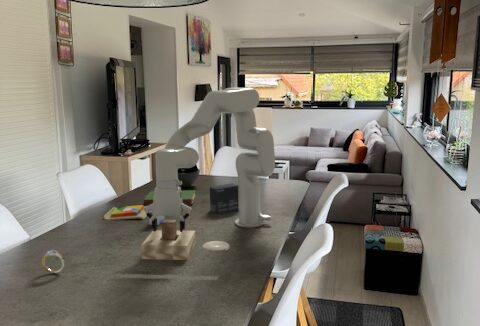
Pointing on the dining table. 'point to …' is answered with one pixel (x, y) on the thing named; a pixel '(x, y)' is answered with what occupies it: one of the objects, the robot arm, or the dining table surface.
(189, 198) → the hardcover book
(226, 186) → the small box
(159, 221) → the medicine box
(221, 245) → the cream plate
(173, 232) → the walnut peg
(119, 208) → the wooden puzzle
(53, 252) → the bracelet
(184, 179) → the bowl of black rocks
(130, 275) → the dining table surface
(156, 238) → the birch pocket block
